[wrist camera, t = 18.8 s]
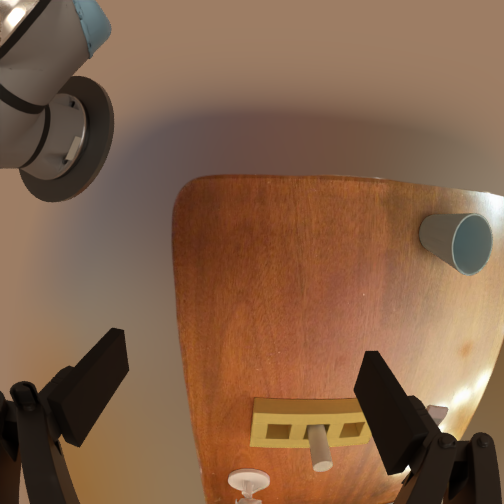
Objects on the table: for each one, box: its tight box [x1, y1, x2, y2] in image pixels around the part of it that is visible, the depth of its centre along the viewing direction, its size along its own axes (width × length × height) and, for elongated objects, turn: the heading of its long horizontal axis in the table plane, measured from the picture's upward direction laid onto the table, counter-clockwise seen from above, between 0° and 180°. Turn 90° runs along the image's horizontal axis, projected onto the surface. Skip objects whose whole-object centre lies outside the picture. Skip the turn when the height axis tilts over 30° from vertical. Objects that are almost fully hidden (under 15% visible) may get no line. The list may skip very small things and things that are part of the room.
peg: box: [307, 424, 333, 472], centre depth 39 cm, size 3×3×12 cm
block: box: [250, 398, 372, 448], centre depth 43 cm, size 9×22×4 cm, turn 86°
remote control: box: [426, 405, 448, 426], centre depth 44 cm, size 7×16×3 cm, turn 158°
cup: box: [419, 213, 493, 276], centre depth 33 cm, size 8×8×10 cm
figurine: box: [228, 469, 270, 504], centre depth 43 cm, size 9×9×12 cm
